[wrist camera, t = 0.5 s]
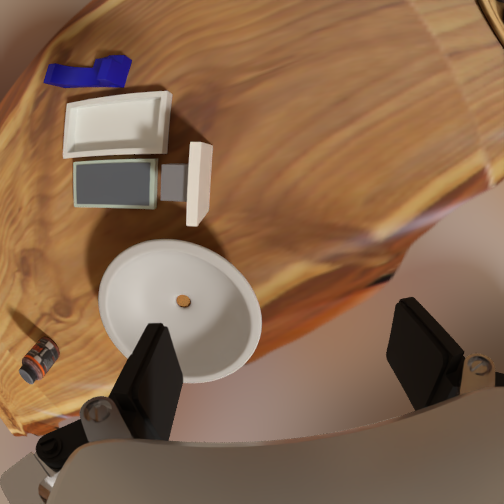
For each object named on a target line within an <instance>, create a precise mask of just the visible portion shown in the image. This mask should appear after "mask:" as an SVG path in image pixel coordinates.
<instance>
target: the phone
mask: <svg viewBox="0 0 504 504" xmlns="http://www.w3.org/2000/svg"><path fill="white" fill-rule="evenodd" d="M157 175H158V159H116V160H95V161H80V162H73V190H74V207H99V208H132V209H156V208H157Z"/></svg>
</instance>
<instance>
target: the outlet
mask: <svg viewBox="0 0 504 504" xmlns="http://www.w3.org/2000/svg"><path fill="white" fill-rule="evenodd" d="M212 152H213V145H210V144H206V143H203V142H190V151H189V164H176V163H171V164H162V173H161V201H183V202H187V215H186V226H196V227H197V226H198V225H199V223H200V222H201V221H202V219H203V218H204V216H205V215H206V214H207V212H208V211H209V199H210V181H211V166H212Z"/></svg>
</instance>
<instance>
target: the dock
mask: <svg viewBox="0 0 504 504" xmlns="http://www.w3.org/2000/svg"><path fill="white" fill-rule="evenodd" d="M171 102H172V94H171V93H170V92H169V91H155V92H142V93H131V94H122V95H114V96H107V97H100V98H94V99H88V100H83V101H77V102H72V103H67V108H66V118H65V129H64V145H63V159H64V158H75V157H87V156H102V155H123V154H167V150H168V136H169V123H170V112H171Z"/></svg>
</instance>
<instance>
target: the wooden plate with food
mask: <svg viewBox="0 0 504 504" xmlns="http://www.w3.org/2000/svg"><path fill="white" fill-rule="evenodd" d="M478 2H479V4H480V6H481V8H482V10H483V12H484V14H485V16H486V18H487V20H488V22H489V24H490V25H491V27H492V29H493V30H494V32H495V34H496V35H497V37H498V39H499V40H500V42H501V43H502V45H503V47H504V0H478Z"/></svg>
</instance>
